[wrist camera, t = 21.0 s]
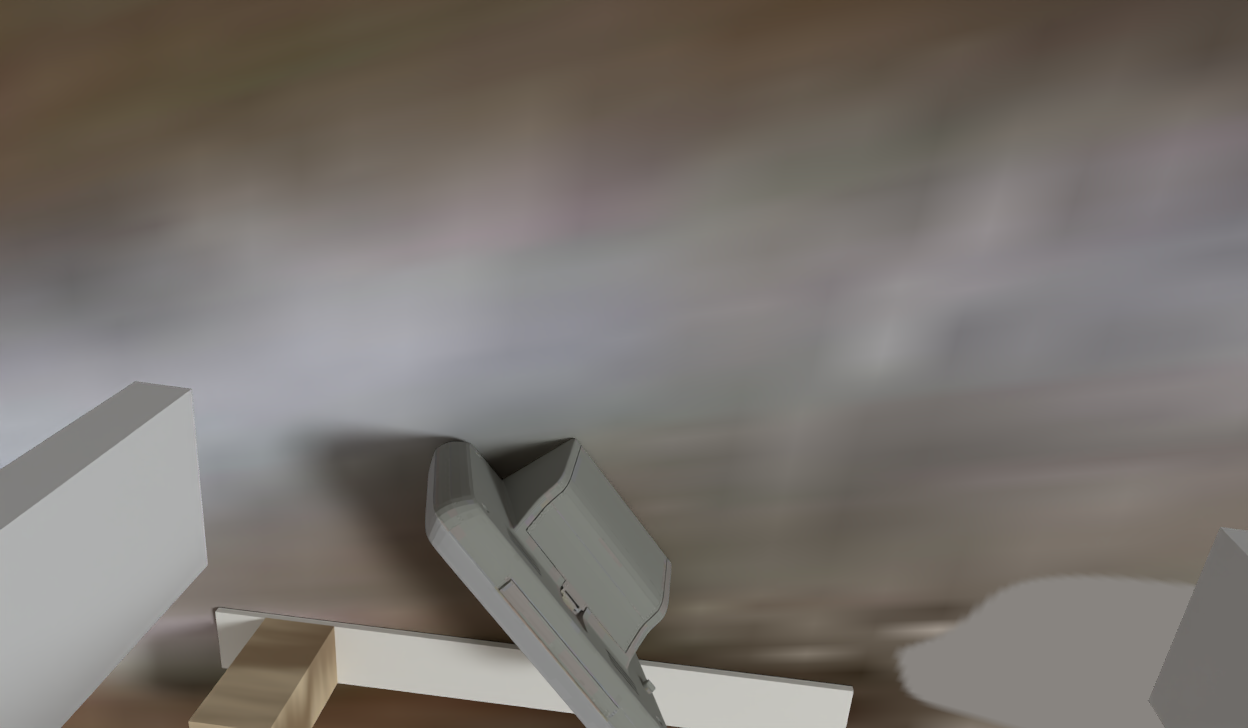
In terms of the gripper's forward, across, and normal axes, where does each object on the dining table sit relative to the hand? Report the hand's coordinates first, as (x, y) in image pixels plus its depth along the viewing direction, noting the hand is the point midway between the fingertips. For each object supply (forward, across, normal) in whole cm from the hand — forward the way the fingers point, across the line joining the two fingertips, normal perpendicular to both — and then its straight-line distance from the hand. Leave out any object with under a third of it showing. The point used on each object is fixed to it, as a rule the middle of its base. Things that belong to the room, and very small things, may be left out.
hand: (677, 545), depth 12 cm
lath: (+30, -6, -30) cm, 43 cm away
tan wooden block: (+30, -19, -30) cm, 46 cm away
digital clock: (+30, -5, -20) cm, 37 cm away
